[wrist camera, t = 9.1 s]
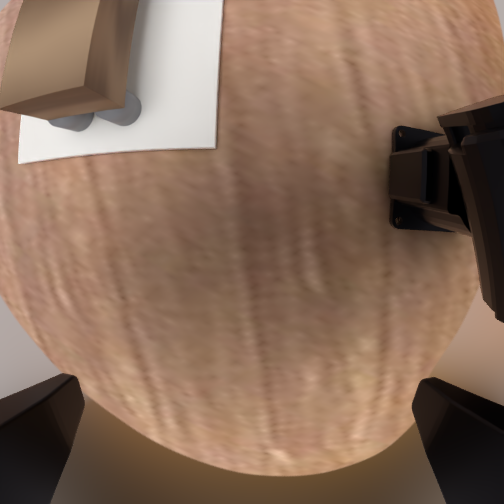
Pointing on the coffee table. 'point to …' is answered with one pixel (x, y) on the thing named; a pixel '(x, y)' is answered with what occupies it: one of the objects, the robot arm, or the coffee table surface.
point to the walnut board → (68, 57)
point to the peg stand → (148, 91)
